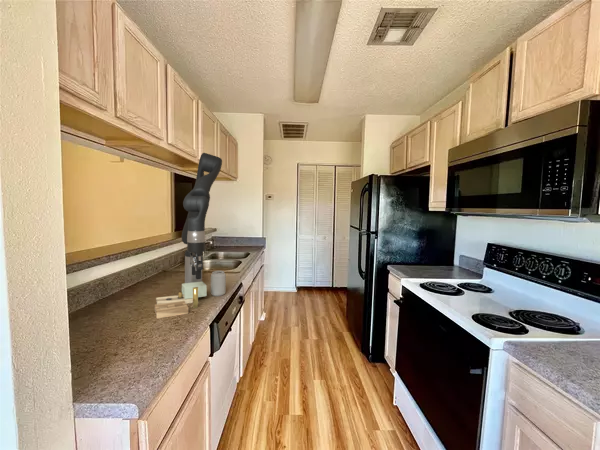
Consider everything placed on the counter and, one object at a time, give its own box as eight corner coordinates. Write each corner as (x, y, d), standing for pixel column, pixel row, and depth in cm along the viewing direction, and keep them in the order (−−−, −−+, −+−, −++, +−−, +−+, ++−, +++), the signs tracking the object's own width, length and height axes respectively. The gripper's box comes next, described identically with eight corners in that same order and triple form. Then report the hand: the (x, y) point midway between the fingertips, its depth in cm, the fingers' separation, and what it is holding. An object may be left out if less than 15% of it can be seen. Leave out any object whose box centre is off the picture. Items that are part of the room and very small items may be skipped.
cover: (181, 294, 138) (181, 283, 137) (202, 291, 143) (202, 281, 142) (184, 299, 131) (184, 287, 130) (206, 296, 136) (206, 285, 136)
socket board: (154, 310, 121) (154, 304, 121) (184, 306, 127) (184, 300, 127) (156, 318, 112) (156, 312, 112) (188, 313, 119) (188, 307, 118)
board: (156, 300, 133) (156, 292, 132) (189, 296, 140) (189, 288, 140) (158, 307, 124) (157, 298, 124) (193, 302, 132) (193, 294, 132)
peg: (192, 307, 126) (192, 287, 126) (197, 306, 127) (197, 286, 127) (193, 308, 124) (193, 288, 124) (198, 307, 125) (198, 288, 125)
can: (227, 292, 148) (227, 270, 148) (222, 297, 141) (222, 273, 140) (214, 291, 149) (214, 269, 148) (208, 296, 142) (208, 272, 141)
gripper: (209, 242, 120) (208, 279, 121) (201, 238, 132) (201, 272, 133) (190, 243, 116) (190, 281, 117) (184, 239, 128) (184, 274, 129)
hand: (196, 276), depth 125 cm, fingers open, 8 cm apart
